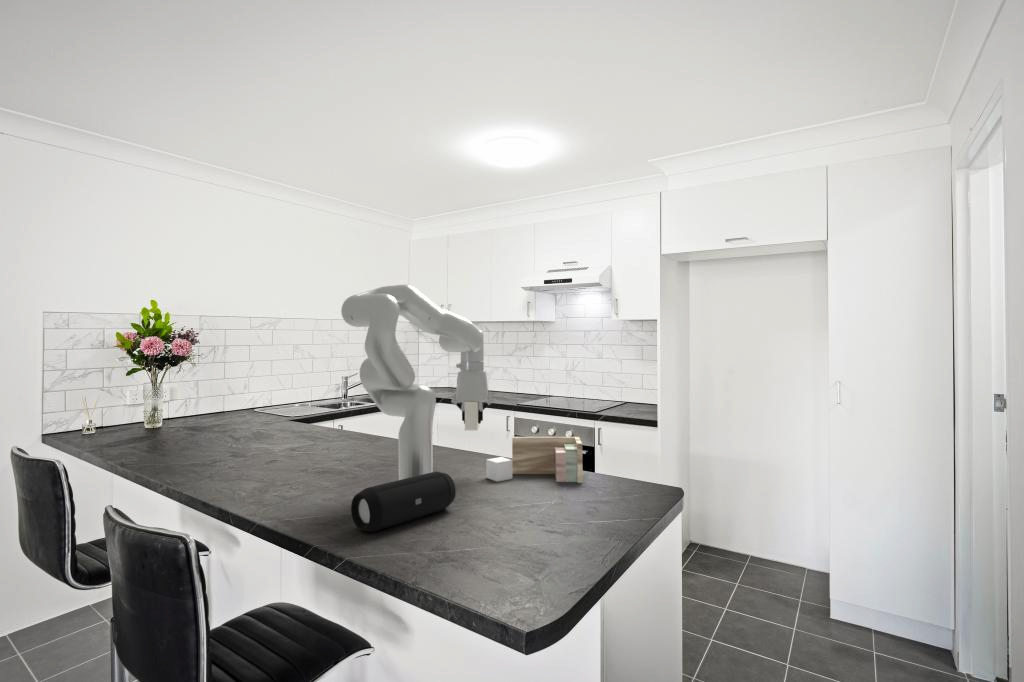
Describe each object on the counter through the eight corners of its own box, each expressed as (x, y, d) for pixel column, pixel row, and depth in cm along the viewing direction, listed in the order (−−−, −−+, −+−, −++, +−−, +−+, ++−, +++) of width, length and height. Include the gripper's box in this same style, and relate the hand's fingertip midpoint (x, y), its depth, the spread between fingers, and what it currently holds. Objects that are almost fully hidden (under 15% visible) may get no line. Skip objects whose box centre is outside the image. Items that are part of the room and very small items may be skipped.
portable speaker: (372, 539, 118) (372, 494, 118) (348, 529, 124) (348, 486, 124) (458, 511, 137) (458, 472, 137) (433, 504, 143) (433, 467, 143)
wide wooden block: (582, 482, 163) (582, 443, 163) (511, 482, 164) (510, 443, 164) (579, 473, 175) (578, 436, 175) (512, 472, 176) (512, 436, 176)
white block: (477, 430, 169) (477, 402, 169) (464, 430, 169) (464, 402, 169) (479, 426, 178) (479, 399, 178) (467, 426, 178) (467, 399, 178)
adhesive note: (496, 482, 165) (496, 462, 165) (486, 478, 170) (486, 459, 170) (512, 478, 169) (512, 460, 169) (501, 475, 174) (501, 456, 174)
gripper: (445, 367, 170) (445, 424, 170) (497, 367, 170) (497, 424, 170) (448, 366, 178) (448, 421, 178) (498, 366, 177) (498, 421, 177)
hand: (472, 422), depth 174 cm, fingers closed on white block, 4 cm apart
